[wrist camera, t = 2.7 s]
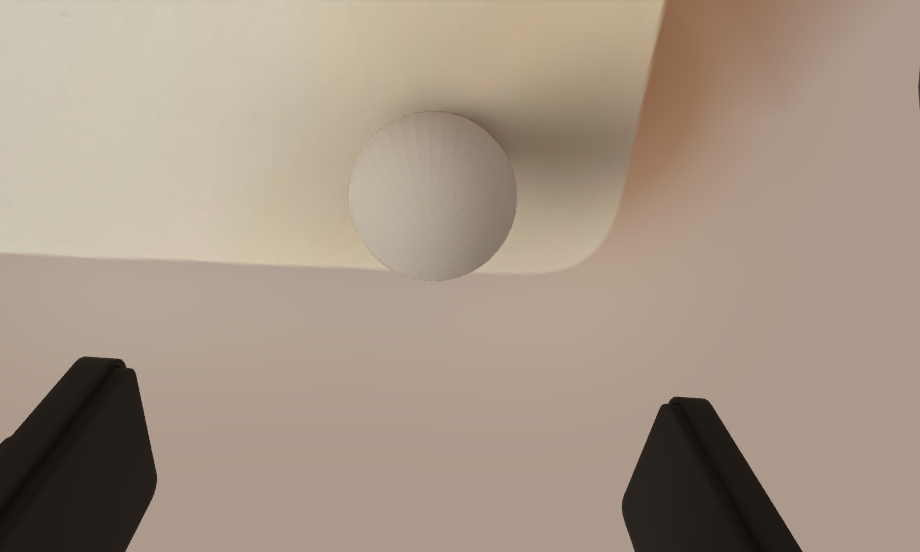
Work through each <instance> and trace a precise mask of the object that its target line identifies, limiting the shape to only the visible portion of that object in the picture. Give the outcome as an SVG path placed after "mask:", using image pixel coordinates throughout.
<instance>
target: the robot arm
mask: <svg viewBox="0 0 920 552" xmlns="http://www.w3.org/2000/svg"><path fill="white" fill-rule="evenodd" d="M156 483H157V474H156V469H155V464H154V459H153V455H152V450H151V445H150V440H149V435H148V431H147V425H146V421H145V416H144V411H143V406H142V401H141V397H140V392H139V387H138V382H137V377H136V373H135V371H134V370H133V369H130V368H126V365H125V363H124V362H123V361H122V360H121V359H114V358H98V357H82V358H79V359H78V360H77V361H76V362H75V363H74V364H73V366H72V367H71V368H70V369H69V370H68V371H67V372H66V374H65V375H64V376H63V377H62V378H61V379H60V381H59V382H58V383H57V384H56V385H55V386H54V387H53V389H52V390H51V391H50V392H49V393H48V394H47V396H46V397H45V398H44V399H43V400H42V401H41V403H40V404H39V405H38V406H37V407H36V408H35V409H34V411H33V412H32V413H31V414H30V415H29V417H28V418H27V419H26V420H25V421H24V422H23V424H21V426H20V427H19V428H18V429H17V430H16V431H15V433H14V434H13V435H12V436H11V437H8V438H6V439H5V440H4V441H3V442H2V443H1V444H0V552H125V551H126V549H127V547H128V545H129V543H130V541H131V539H132V537H133V535H134V533H135V531H136V529H137V527H138V525H139V524H140V522H141V519H142V518H143V516H144V514H145V512H146V510H147V508H148V506H149V504H150V501H151V500H152V497H153V495H154V492H155V489H156ZM622 513H623V517H624V521H625V524H626V527H627V530H628V533H629V536H630V539H631V541H632V544H633V548H634V550H635V552H802V550H801V549H800V547H799V545H798V544H797V542H796V540H795V539H794V537H793V536H792V534H791V532H790V531H789V529H788V528H787V526H786V524H785V523H784V521H783V520H782V518H781V516H780V515H779V513H778V512H777V510H776V508H775V507H774V505H773V503H772V502H771V500H770V498H769V497H768V495H767V494H766V492H765V490H764V489H763V487H762V486H761V484H760V482H759V481H758V479H757V477H756V476H755V475H754V473H753V471H752V470H751V468H750V466H749V465H748V463H747V461H746V460H745V458H744V457H743V455H742V453H741V452H740V450H739V449H738V447H737V445H736V444H735V442H734V440H733V439H732V437H731V436H730V434H729V432H728V431H727V429H726V427H725V426H724V424H723V423H722V421H721V419H720V418H719V416H718V415H717V413H716V411H715V410H714V408H713V406H712V405H711V404H710V402H709V401H708V400H706V399H701V398H686V397H673V398H672V399H671V400H670V401H669V403H668V404H663V405H662V406H661V407H660V409H659V412H658V414H657V416H656V419H655V422H654V424H653V427H652V429H651V431H650V433H649V436H648V439H647V441H646V443H645V446H644V448H643V451H642V453H641V455H640V458H639V461H638V463H637V465H636V468H635V470H634V472H633V475H632V477H631V480H630V482H629V485H628V487H627V490H626V492H625V494H624V497H623V501H622Z"/></svg>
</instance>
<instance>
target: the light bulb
mask: <svg viewBox="0 0 920 552" xmlns="http://www.w3.org/2000/svg"><path fill="white" fill-rule="evenodd" d="M516 204H517V191H516V182H515V178H514V173H513V170H512V167H511V165H510V162H509V160H508V158H507V156H506V154H505V153H504V151H503V149H502V148H501V146H500V145H499V144H498V143H497V141H496V140H495V139H494V138H493V137H492V136H491V135H490V134H489V133H488V132H487V131H485V130H484V129H483V128H482V127H481V126H479V125H477V124H475V123H474V122H472V121H470V120H469V119H466V118H464V117H461V116H458V115H456V114H451V113H446V112H436V111H427V112H418V113H413V114H410V115H406V116H403V117H401V118H399V119H397V120H394V121H392V122H390V123H389V124H388V125H386V126H385V127H383V128H382V129H380V130H379V131H378V132H377V133H376V134H375V135H374V136H373V137H372V138H371V139H370V140H369V141H368V142H367V144H366V145H365V147H364V148H363V149H362V151H361V152H360V154H359V156H358V158H357V160H356V162H355V165H354V168H353V171H352V175H351V178H350V186H349V207H350V212H351V217H352V221H353V224H354V226H355V229H356V231H357V233H358V235H359V237H360V239H361V240H362V242H363V244H364V245H365V247H366V248H367V249H368V250H369V251H370V253H371V254H372V255H373V256H374V257H375V258H376V259H377V260H379V261H380V262H381V263H382V264H383V265H385V266H386V267H388V268H389V269H391V270H392V271H395V272H397V273H399V274H401V275H403V276H406V277H410V278H413V279H417V280H424V281H442V280H449V279H454V278H457V277H461V276H463V275H466V274H468V273H470V272H472V271H474V270H476V269H477V268H479V267H480V266H482V265H483V264H484V263H486V262H487V261H488V260H489V259H490V258H491V257H492V256H493V255H494V254H495V253H496V252H497V251H498V250H499V248H500V247H501V245H502V244H503V242H504V241H505V239H506V238H507V235H508V233H509V231H510V229H511V227H512V224H513V220H514V217H515V212H516Z"/></svg>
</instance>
